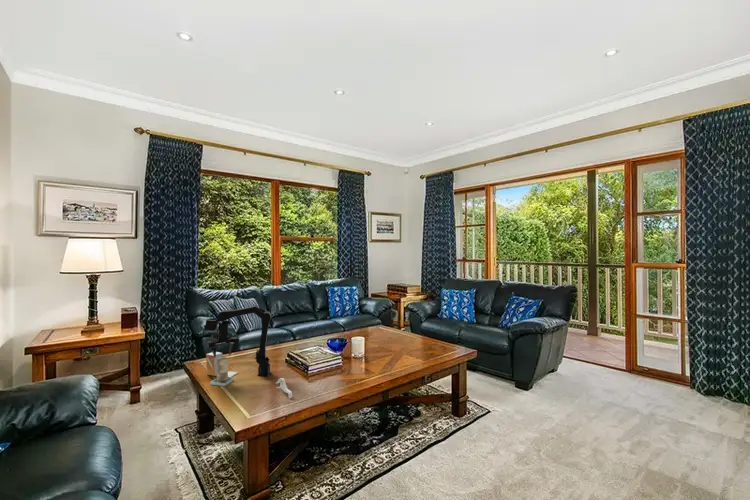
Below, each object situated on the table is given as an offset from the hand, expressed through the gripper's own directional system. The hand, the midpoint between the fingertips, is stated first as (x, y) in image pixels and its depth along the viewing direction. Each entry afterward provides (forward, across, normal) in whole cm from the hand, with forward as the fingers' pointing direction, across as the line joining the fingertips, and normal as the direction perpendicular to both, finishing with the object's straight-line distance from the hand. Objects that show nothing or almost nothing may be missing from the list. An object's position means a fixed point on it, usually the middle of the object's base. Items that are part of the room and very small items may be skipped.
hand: (222, 356), depth 219 cm
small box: (+13, +1, -7) cm, 15 cm away
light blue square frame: (+13, +3, +8) cm, 16 cm away
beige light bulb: (+13, +3, +8) cm, 16 cm away
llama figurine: (+12, -15, +47) cm, 51 cm away
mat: (+13, -4, -1) cm, 14 cm away
